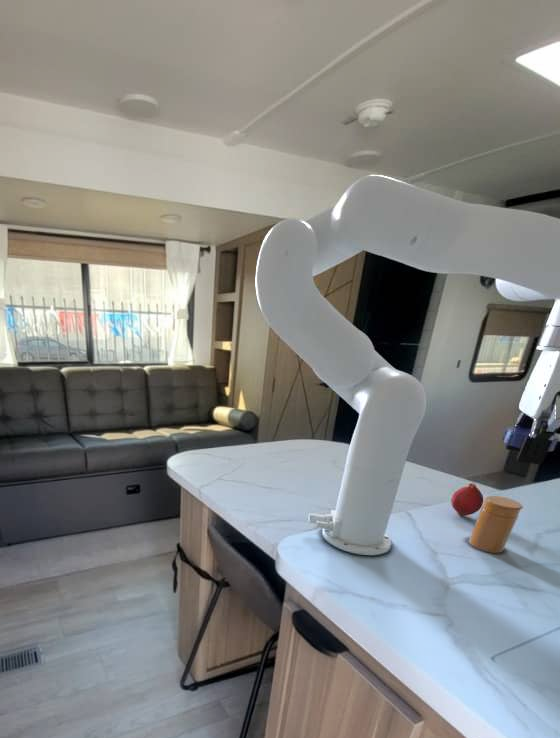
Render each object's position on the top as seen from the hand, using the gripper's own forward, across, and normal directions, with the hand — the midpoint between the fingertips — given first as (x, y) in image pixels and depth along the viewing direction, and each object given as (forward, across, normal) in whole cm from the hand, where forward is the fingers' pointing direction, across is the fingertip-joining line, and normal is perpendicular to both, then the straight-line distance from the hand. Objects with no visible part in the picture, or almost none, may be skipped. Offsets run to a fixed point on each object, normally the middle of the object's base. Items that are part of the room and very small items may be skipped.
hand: (522, 455), depth 68 cm
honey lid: (-4, 0, 0) cm, 4 cm away
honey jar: (+20, +5, -2) cm, 20 cm away
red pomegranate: (+20, +18, +1) cm, 27 cm away
